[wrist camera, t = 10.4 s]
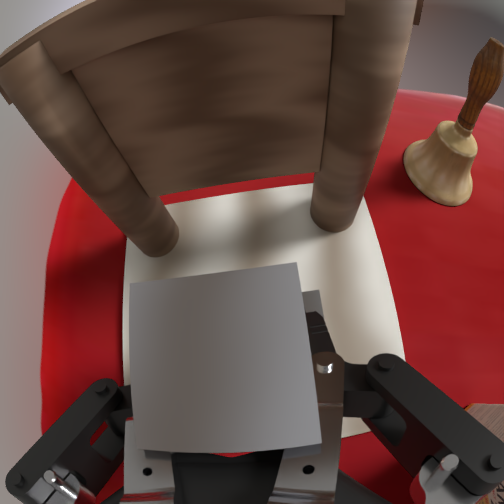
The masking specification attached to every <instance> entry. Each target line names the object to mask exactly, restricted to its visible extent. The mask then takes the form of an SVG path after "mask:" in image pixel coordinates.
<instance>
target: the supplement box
mask: <svg viewBox="0 0 504 504" xmlns="http://www.w3.org/2000/svg"><path fill="white" fill-rule="evenodd" d="M464 410H465V411H466V412H468V413H469V414H470V415H471V416H473V417H474V418H475V419H476V420H477V421H479V422H480V423H481V424H482V425H483V426H485V427H486V428H487V429H488V430H489V431H491V432H492V433H493V434H494V435H495V436H497V437H498V438H499V439H500V440H501V441H503V442H504V404H470V405H469V406H468V407H466V408H465V409H464ZM477 504H504V481H503V482H502V483H500V484H499V485H498V486H497V487H496V488H495V489H494V490H493V491H491V492H490V493H489V494H488V495H487V496H486V497H484V498H483V499H482V500H481V501H479V502H478V503H477Z"/></svg>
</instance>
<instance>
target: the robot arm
mask: <svg viewBox="0 0 504 504" xmlns="http://www.w3.org/2000/svg"><path fill="white" fill-rule="evenodd" d="M304 309H305V308H304ZM305 316H306V322H307V329H308V336H309V343H310V350H311V357H312V364H313V372H314V379H315V387H316V395H317V403H318V412H319V421H320V430H321V440H322V443H319V444H313V445H307V446H300V447H293V448H285V449H276V450H265V451H256V452H253V453H249V454H245V455H241V456H237V457H225V456H220V455H215V454H210V453H188V452H169V451H156V450H146V449H137V444H136V437H135V428H134V419H133V409H132V397H131V384H130V385H126V386H121V387H118V385H117V383H116V382H115V381H114V380H112V379H108V378H105V379H100V380H98V381H96V382H94V383H93V384H92V385H91V386H90V387H89V388H88V389H87V390H86V391H85V392H84V393H83V394H82V395H81V396H80V397H79V398H78V399H77V400H76V401H75V402H74V403H73V404H72V405H71V406H70V407H69V408H68V409H67V410H66V411H65V412H64V413H63V415H62V416H61V417H60V418H59V419H58V420H57V421H56V422H55V423H54V424H53V425H52V426H51V427H50V428H49V429H48V430H47V431H46V432H45V433H44V434H43V436H42V437H41V438H40V439H39V440H38V441H37V442H36V443H35V444H34V445H33V446H32V447H31V448H30V449H29V451H28V452H27V453H26V454H25V455H24V456H23V457H22V458H21V459H20V460H19V461H18V463H16V465H15V466H14V467H13V468H12V469H11V470H10V471H9V473H8V474H7V476H6V481H5V482H6V487H7V490H8V491H9V492H10V494H12V495H13V496H14V497H16V498H17V499H18V500H20V501H21V502H22V503H24V504H95V502H96V500H95V497H96V496H97V495H98V493H99V492H100V491H101V489H102V488H103V487H104V485H105V484H106V483H107V481H108V480H109V479H110V477H111V476H112V475H113V473H114V472H115V471H116V469H117V468H118V467H119V465H120V464H121V463H122V461H123V460H124V486H123V487H122V488H120V489H119V490H118V491H116V492H115V493H114V494H112V495H111V496H110V497H108V498H107V499H105V500H104V501H103V502H101V503H100V504H392V503H391V502H389V501H387V500H386V499H384V498H382V497H381V496H379V495H377V494H376V493H374V492H373V491H371V490H369V489H368V488H366V487H365V486H363V485H362V484H360V483H359V482H357V481H356V480H354V479H353V478H351V477H350V476H348V475H347V474H345V473H344V472H342V471H341V470H340V469H338V465H339V456H340V446H341V435H342V421H343V417H353V418H361V419H362V421H363V422H364V423H365V424H366V425H367V427H368V428H369V429H370V430H371V431H372V432H373V433H374V435H375V436H376V437H377V438H378V439H379V440H380V441H381V442H382V444H383V445H384V446H385V447H386V448H387V449H388V450H389V451H390V453H391V454H392V455H393V456H394V457H395V458H396V459H397V460H398V461H399V463H400V464H401V465H402V466H403V467H404V468H405V469H406V470H407V471H408V473H409V474H410V475H411V476H412V477H413V478H414V479H413V481H412V482H411V485H410V490H409V491H410V496H411V498H412V500H413V501H414V504H477V503H478V502H479V501H481V500H482V499H483V498H484V497H486V496H487V495H488V494H489V493H490V492H491V491H493V490H494V489H495V488H496V487H497V486H498V485H499V484H500V483H502V482H503V481H504V442H503V441H501V440H500V439H499V438H498V437H497V436H495V435H494V434H493V433H492V432H491V431H489V430H488V429H487V428H486V427H485V426H483V425H482V424H481V423H480V422H479V421H477V420H476V419H475V418H474V417H473V416H471V415H470V414H469V413H468V412H466V411H465V410H464V409H463V408H462V407H460V406H459V405H458V404H457V403H456V402H454V401H453V400H452V399H451V398H449V397H448V396H447V395H446V394H445V393H443V392H442V391H441V390H440V389H438V388H437V387H436V386H435V385H434V384H432V383H431V382H430V381H429V380H427V379H426V378H425V377H424V376H423V375H421V374H420V373H419V372H418V371H416V370H415V369H414V368H413V367H411V366H410V365H409V364H408V363H407V362H405V361H404V360H403V359H402V358H400V357H399V356H397V355H394V354H390V353H382V354H378V355H376V356H374V357H372V358H371V359H370V360H369V362H368V364H352V363H348V362H346V361H344V360H343V358H342V357H341V356H340V355H338V354H337V353H336V350H335V348H334V345H333V342H332V339H331V337H330V334H329V332H328V329H327V326H326V323H325V321H324V318H323V316H321V315H320V314H319V313H318V312H316V311H313V312H307V313H306V311H305ZM104 421H105V422H106V424H107V425H108V427H107V428H106V430H105V431H104V432H103V433H102V434H101V436H100V437H99V438H98V439H97V440H96V442H95V443H94V444H93V445H92V446H91V445H90V438H91V436H92V435H93V434H94V433H95V431H96V430H97V429H98V428H99V427H100V426H101V424H102V423H103V422H104Z"/></svg>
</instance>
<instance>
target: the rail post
mask: <svg viewBox="0 0 504 504" xmlns="http://www.w3.org/2000/svg"><path fill="white" fill-rule="evenodd" d="M129 360H130V382H131V397H132V409H133V419H134V428H135V437H136V444H137V449H146V450H156V451H169V452H188V453H233V452H252V451H265V450H276V449H285V448H293V447H300V446H307V445H313V444H319V443H322V440H321V430H320V421H319V412H318V403H317V395H316V387H315V379H314V372H313V364H312V357H311V350H310V343H309V336H308V329H307V322H306V316H305V309H304V303H303V297H302V291H301V285H300V279H299V273H298V267H297V262H293V263H286V264H278V265H271V266H264V267H256V268H249V269H241V270H234V271H226V272H218V273H211V274H203V275H195V276H187V277H179V278H171V279H162V280H154V281H146V282H137V283H130V293H129Z"/></svg>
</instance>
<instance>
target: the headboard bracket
mask: <svg viewBox="0 0 504 504" xmlns="http://www.w3.org/2000/svg"><path fill="white" fill-rule="evenodd" d="M423 1H424V0H85V1H83V2H81V3H79V4H77V5H75V6H73V7H71V8H70V9H68V10H66V11H64V12H62V13H60V14H59V15H57V16H55V17H53V18H52V19H50V20H48V21H47V22H45V23H43V24H42V25H40V26H39V27H37V28H35V29H34V30H32V31H31V32H29V33H28V34H26V35H25V36H23V37H22V38H21V39H19V40H18V41H16V42H15V43H14V44H12V45H11V46H9V47H8V48H7V49H6V50H5V51H4V52H3V53H2V54H1V55H0V93H1V94H2V96H3V97H4V98H5V100H6V101H7V102H8V104H9V105H10V104H11V103H13V104H14V105H15V106H16V108H17V109H18V111H19V112H20V113H21V114H22V116H23V117H24V118H25V120H26V121H27V122H28V124H29V125H30V126H31V128H32V129H33V130H34V131H35V133H36V134H37V135H38V137H39V138H40V139H41V140H42V142H43V143H44V144H45V145H46V147H47V148H48V149H49V150H50V151H51V153H52V154H53V155H54V156H55V158H56V159H57V160H58V161H59V162H60V163H61V165H62V166H63V167H64V168H65V169H66V171H67V172H68V173H69V174H70V175H71V176H72V178H73V179H74V180H75V181H76V182H77V183H78V184H79V186H80V187H81V188H82V189H83V190H84V191H85V192H86V193H87V194H88V196H89V197H90V198H91V199H92V200H93V201H94V202H95V203H96V204H97V205H98V207H99V208H100V209H101V210H102V211H103V212H104V213H105V214H106V215H107V216H108V217H109V218H110V219H111V220H112V221H113V223H114V224H115V225H116V226H117V227H118V228H119V229H120V230H121V231H122V232H123V233H124V234H125V235H126V236H127V245H126V257H125V271H124V290H123V370H124V386H126V385H130V384H131V382H130V360H129V293H130V283H137V282H146V281H154V280H162V279H171V278H179V277H187V276H195V275H203V274H211V273H218V272H226V271H234V270H241V269H249V268H256V267H264V266H271V265H278V264H286V263H293V262H297V267H298V273H299V279H300V285H301V291H302V297H303V303H304V308H305V311H306V313H307V312H313V311H316V312H318V313H319V314H320V315H321V316H323V318H324V321H325V323H326V326H327V329H328V332H329V334H330V337H331V339H332V342H333V345H334V348H335V350H336V353H337V354H338V355H340V356H341V357H342V358H343V360H344V361H346V362H348V363H352V364H368V362H369V360H370V359H371V358H372V357H374V356H376V355H378V354H382V353H390V354H394V355H397V356H399V357H400V358H402V359H403V360H404V361H405V356H404V350H403V344H402V338H401V333H400V328H399V323H398V318H397V313H396V309H395V304H394V300H393V295H392V291H391V287H390V283H389V279H388V275H387V271H386V268H385V264H384V260H383V257H382V253H381V249H380V246H379V243H378V239H377V236H376V233H375V229H374V226H373V223H372V220H371V217H370V214H369V211H368V208H367V205H366V202H365V199H364V196H363V195H364V193H365V190H366V187H367V184H368V182H369V179H370V176H371V173H372V170H373V167H374V164H375V161H376V158H377V155H378V152H379V149H380V146H381V143H382V140H383V137H384V134H385V131H386V127H387V124H388V121H389V117H390V114H391V111H392V107H393V104H394V100H395V97H396V93H397V89H398V86H399V82H400V78H401V74H402V70H403V66H404V62H405V57H406V53H407V49H408V44H409V40H410V35H411V30H412V25H413V24H414V25H419V22H420V17H421V12H422V7H423ZM311 172H315V174H314V182H313V183H311V184H302V185H293V186H285V187H277V188H270V189H262V190H255V191H248V192H241V193H235V194H228V195H222V196H215V197H209V198H203V199H197V200H192V201H186V202H180V203H175V204H170V205H164V204H163V202H162V201H161V199H160V197H159V196H161V195H166V194H171V193H176V192H181V191H187V190H192V189H198V188H204V187H210V186H215V185H222V184H228V183H234V182H241V181H248V180H255V179H262V178H269V177H277V176H285V175H293V174H302V173H311ZM369 431H371V430H370V429H369V428H368V427H367V425H366V424H365V423H364V422H363V421H362V419H361V418H353V417H343V421H342V435H341V438H343V437H348V436H352V435H356V434H361V433H365V432H369Z"/></svg>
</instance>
